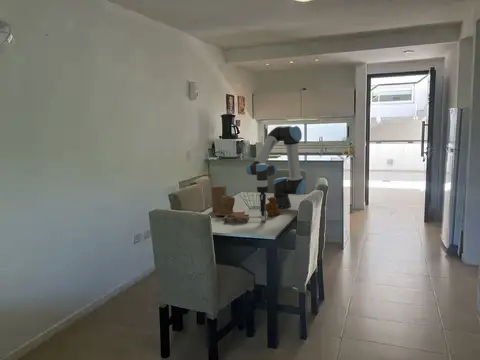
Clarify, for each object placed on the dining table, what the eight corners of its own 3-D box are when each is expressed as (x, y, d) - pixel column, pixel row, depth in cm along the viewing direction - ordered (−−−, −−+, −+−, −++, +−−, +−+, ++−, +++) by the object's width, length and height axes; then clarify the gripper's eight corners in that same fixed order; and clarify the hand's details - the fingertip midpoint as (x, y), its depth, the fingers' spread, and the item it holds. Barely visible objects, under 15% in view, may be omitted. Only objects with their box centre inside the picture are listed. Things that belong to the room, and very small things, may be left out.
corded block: (266, 219, 279) (265, 204, 278) (265, 221, 273) (264, 205, 272) (236, 219, 282) (235, 204, 281) (235, 221, 277) (234, 206, 275)
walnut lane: (249, 219, 283) (248, 214, 283) (247, 222, 273) (246, 218, 273) (226, 219, 286) (226, 214, 285) (224, 223, 276) (223, 218, 275)
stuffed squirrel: (282, 213, 297) (281, 196, 295) (275, 217, 285) (274, 199, 283) (269, 212, 302) (269, 195, 300) (262, 216, 289) (261, 199, 287)
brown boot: (237, 213, 302) (236, 194, 300) (233, 217, 291) (232, 197, 289) (218, 213, 306) (217, 194, 304) (213, 217, 295) (212, 197, 293)
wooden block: (224, 212, 311) (223, 186, 308) (212, 212, 313) (210, 186, 310) (227, 209, 320) (226, 184, 318) (215, 209, 322) (214, 184, 320)
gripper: (258, 184, 283) (259, 216, 286) (255, 188, 265) (256, 222, 268) (268, 183, 281) (270, 216, 285) (266, 188, 264) (267, 222, 267)
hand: (263, 219), depth 276 cm, fingers closed on corded block, 5 cm apart
